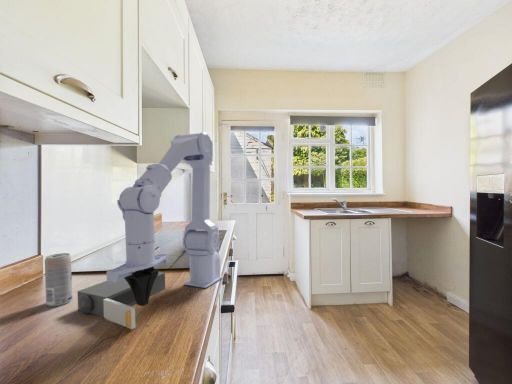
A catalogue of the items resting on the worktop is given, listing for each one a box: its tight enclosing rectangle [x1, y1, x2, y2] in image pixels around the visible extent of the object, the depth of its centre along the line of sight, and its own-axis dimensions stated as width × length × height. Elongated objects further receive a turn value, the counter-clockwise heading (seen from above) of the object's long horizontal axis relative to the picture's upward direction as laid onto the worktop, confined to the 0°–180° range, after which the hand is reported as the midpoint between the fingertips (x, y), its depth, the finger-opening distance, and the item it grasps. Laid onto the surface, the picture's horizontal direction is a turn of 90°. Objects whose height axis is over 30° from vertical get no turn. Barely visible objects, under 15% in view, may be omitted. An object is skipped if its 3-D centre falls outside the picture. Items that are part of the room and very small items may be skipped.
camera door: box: [103, 298, 137, 330], centre depth 55 cm, size 10×1×4 cm, turn 59°
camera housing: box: [77, 271, 166, 318], centre depth 68 cm, size 19×10×4 cm, turn 156°
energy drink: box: [44, 252, 73, 308], centre depth 67 cm, size 5×5×12 cm
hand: (142, 304), depth 57 cm, fingers closed
